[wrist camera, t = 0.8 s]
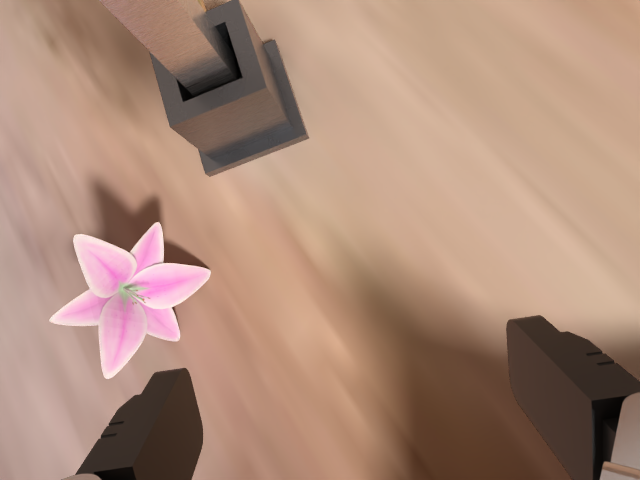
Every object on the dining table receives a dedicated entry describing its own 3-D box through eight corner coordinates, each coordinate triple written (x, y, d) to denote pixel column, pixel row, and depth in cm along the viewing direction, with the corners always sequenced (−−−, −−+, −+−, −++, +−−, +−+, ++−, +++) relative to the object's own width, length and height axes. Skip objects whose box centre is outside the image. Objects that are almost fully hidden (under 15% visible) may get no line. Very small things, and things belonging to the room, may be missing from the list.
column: (211, 93, 45) (-21, -165, 21) (254, 75, 45) (67, -211, 20) (224, 134, 44) (-4, -85, 20) (268, 117, 44) (89, -130, 20)
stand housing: (182, 81, 47) (127, 25, 38) (276, 41, 46) (242, -26, 37) (209, 176, 45) (158, 141, 36) (309, 138, 44) (282, 91, 35)
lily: (128, 382, 45) (121, 407, 36) (34, 290, 43) (2, 292, 34) (224, 292, 48) (241, 294, 39) (141, 203, 46) (138, 184, 37)
